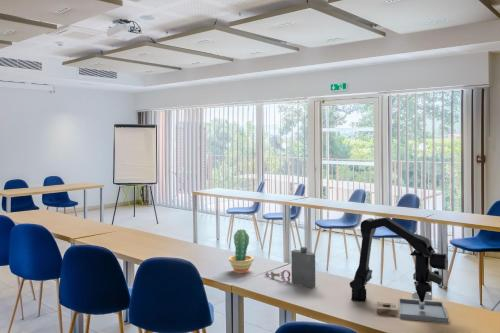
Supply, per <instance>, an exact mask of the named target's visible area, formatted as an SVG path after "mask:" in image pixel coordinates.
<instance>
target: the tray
mask: <svg viewBox="0 0 500 333" xmlns="http://www.w3.org/2000/svg"><path fill="white" fill-rule="evenodd" d="M397 302H398V312H399V319H402V320H403V319H405V320H415V321H424V322H435V323H446V324H448V323H449V316H448V313H447V311H446V307H445V305H444V302H443V301H434V300H425V309H423V310H422V309H419V299H411V298H399V297H398V301H397Z"/></svg>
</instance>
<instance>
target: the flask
mask: <svg viewBox="0 0 500 333" xmlns="http://www.w3.org/2000/svg"><path fill="white" fill-rule="evenodd" d="M290 254H291V262H290V263H291V268H290V269H291V283H292V284H295V285H300V286H302V287H303V286H304V287H306V288H309V289H313V288H315V287H316V253H314V252H312V251H308V247H306V246H301V247H300V248H299V249H293V250H291V252H290Z"/></svg>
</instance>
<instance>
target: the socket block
mask: <svg viewBox="0 0 500 333" xmlns="http://www.w3.org/2000/svg"><path fill="white" fill-rule="evenodd" d="M376 303H377V309H376V312H377V315H383V316H384V315H387V316H397V304H396V303H394V302H393V303H392V302H385V301H383V302H382V301H381V302H380V301H377V302H376Z"/></svg>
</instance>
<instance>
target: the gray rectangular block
mask: <svg viewBox="0 0 500 333" xmlns="http://www.w3.org/2000/svg"><path fill="white" fill-rule="evenodd" d="M411 298H412V300H419V309H422V310H423V309H425V301H433V294H432V292H426V294H425V298H424V301H423V302H421V301H420V299H419V296H418V294H417V291H412V292H411Z"/></svg>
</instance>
